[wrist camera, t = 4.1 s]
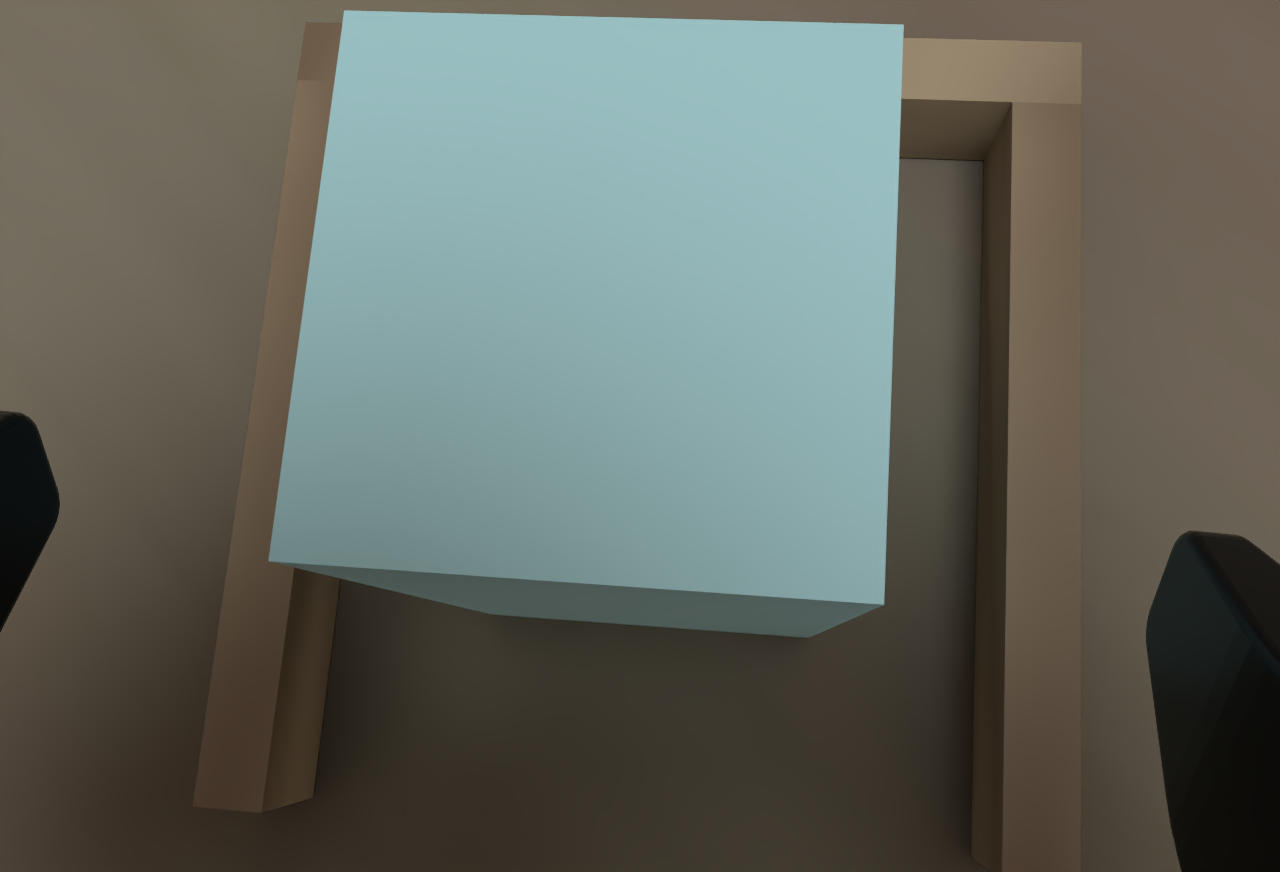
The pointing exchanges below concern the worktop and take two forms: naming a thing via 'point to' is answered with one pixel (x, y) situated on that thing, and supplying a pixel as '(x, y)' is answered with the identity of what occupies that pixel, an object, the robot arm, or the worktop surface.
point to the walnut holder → (1007, 459)
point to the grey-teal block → (602, 320)
